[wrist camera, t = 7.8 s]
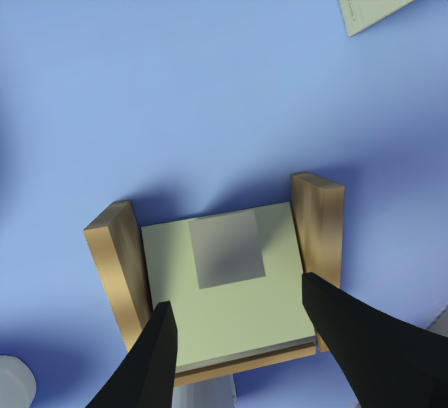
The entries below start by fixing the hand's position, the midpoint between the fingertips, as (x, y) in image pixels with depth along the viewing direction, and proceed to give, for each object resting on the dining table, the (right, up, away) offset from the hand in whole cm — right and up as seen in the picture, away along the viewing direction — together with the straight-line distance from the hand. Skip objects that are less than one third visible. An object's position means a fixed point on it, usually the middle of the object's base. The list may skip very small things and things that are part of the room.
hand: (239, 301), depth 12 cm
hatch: (0, -2, +8) cm, 8 cm away
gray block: (-1, +2, +8) cm, 8 cm away
